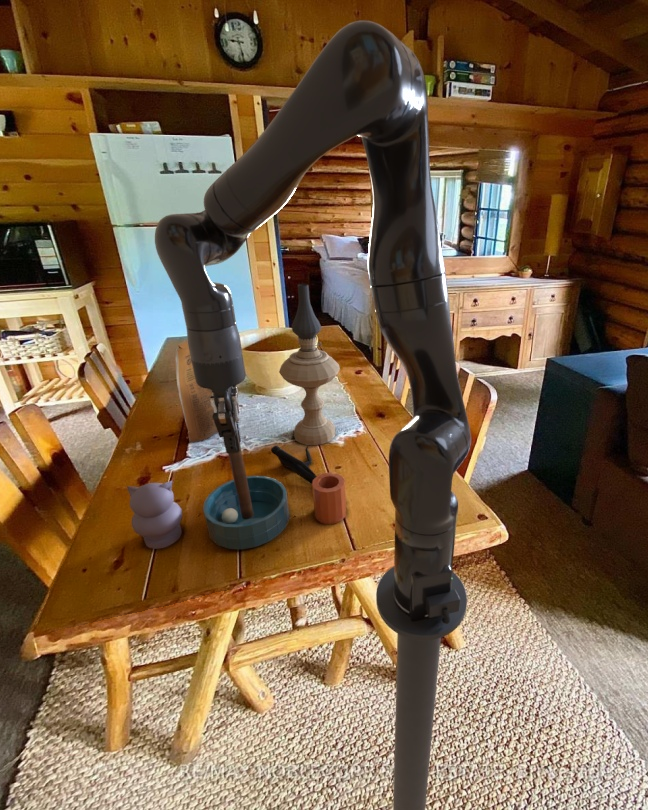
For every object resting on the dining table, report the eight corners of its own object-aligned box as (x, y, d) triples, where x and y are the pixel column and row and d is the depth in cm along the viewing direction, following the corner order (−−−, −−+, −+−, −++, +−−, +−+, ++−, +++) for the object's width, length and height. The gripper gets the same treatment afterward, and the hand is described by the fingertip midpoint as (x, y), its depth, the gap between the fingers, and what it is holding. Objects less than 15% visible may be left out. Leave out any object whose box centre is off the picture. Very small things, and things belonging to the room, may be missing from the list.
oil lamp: (354, 434, 120) (349, 285, 102) (309, 456, 110) (295, 295, 92) (319, 416, 129) (309, 276, 111) (275, 434, 119) (256, 284, 101)
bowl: (291, 543, 83) (288, 518, 80) (204, 558, 80) (198, 533, 77) (287, 493, 96) (285, 471, 94) (213, 504, 93) (208, 481, 90)
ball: (234, 527, 86) (229, 517, 84) (221, 526, 87) (216, 515, 85) (242, 516, 88) (237, 505, 87) (230, 514, 89) (225, 504, 88)
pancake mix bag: (250, 417, 127) (236, 323, 115) (198, 449, 112) (175, 344, 99) (232, 412, 130) (216, 319, 117) (179, 442, 115) (154, 339, 102)
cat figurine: (132, 555, 80) (114, 503, 74) (144, 526, 87) (128, 476, 81) (183, 548, 82) (169, 496, 76) (190, 519, 89) (178, 470, 83)
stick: (253, 518, 82) (235, 424, 73) (241, 520, 82) (221, 426, 73) (253, 510, 84) (236, 418, 75) (241, 512, 83) (222, 420, 74)
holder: (348, 521, 89) (347, 489, 85) (316, 526, 87) (313, 494, 84) (343, 501, 94) (342, 470, 91) (313, 506, 93) (310, 475, 89)
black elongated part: (364, 466, 94) (293, 421, 108) (335, 493, 90) (265, 443, 104) (371, 489, 100) (302, 443, 114) (344, 516, 95) (276, 465, 109)
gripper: (239, 366, 63) (255, 467, 71) (243, 337, 75) (257, 426, 83) (183, 371, 61) (206, 473, 69) (196, 340, 73) (214, 430, 81)
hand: (233, 447), depth 76 cm, fingers closed on stick, 2 cm apart
